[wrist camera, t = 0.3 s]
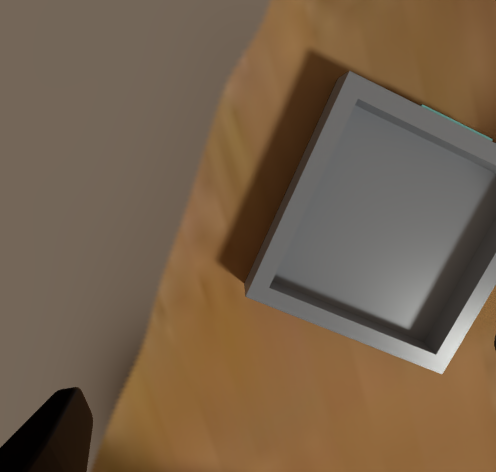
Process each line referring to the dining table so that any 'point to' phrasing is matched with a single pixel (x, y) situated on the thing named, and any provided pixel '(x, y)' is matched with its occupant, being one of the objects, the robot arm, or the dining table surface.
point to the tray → (385, 227)
